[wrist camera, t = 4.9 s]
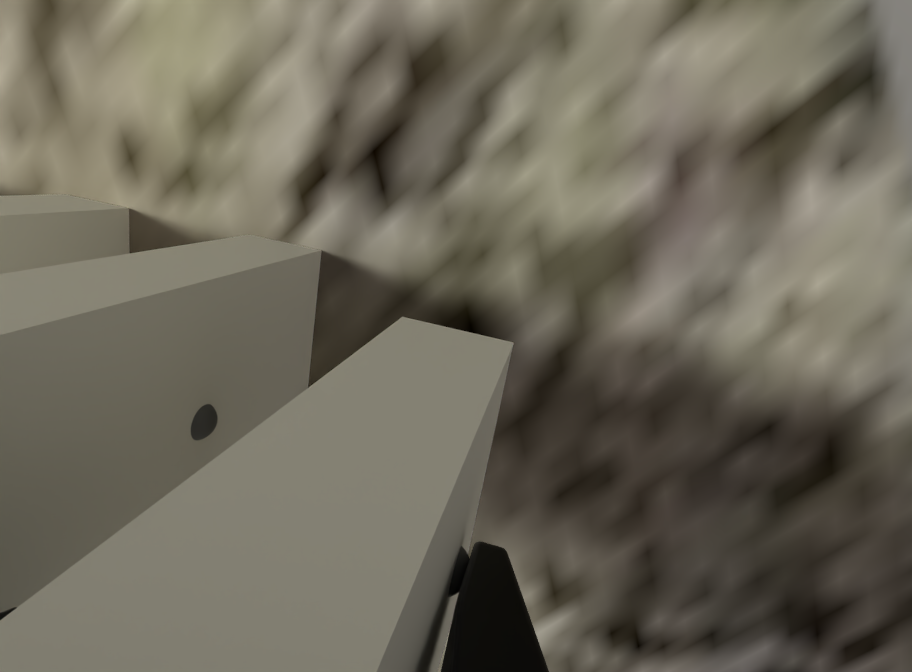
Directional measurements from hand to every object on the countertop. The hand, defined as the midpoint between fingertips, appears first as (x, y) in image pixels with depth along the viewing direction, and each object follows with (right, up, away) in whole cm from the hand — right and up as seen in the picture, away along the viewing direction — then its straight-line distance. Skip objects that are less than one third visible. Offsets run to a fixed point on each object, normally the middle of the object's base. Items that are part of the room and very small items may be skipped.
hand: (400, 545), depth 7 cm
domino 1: (-8, +4, +7) cm, 11 cm away
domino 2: (-4, +3, +6) cm, 7 cm away
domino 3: (0, +1, +2) cm, 2 cm away
